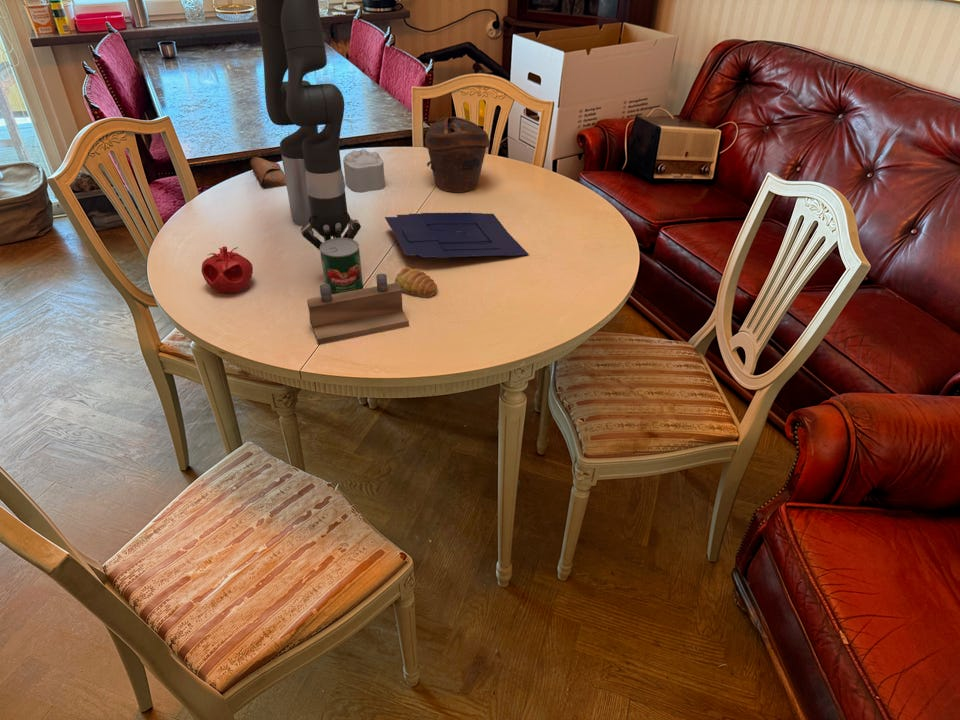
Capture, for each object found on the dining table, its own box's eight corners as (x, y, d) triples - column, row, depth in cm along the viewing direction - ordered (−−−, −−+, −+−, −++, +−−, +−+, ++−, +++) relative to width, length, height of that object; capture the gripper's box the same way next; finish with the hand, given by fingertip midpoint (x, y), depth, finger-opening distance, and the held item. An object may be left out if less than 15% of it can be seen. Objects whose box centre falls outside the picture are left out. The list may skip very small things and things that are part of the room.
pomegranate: (216, 273, 137) (207, 234, 131) (262, 275, 137) (254, 236, 131) (199, 297, 129) (188, 257, 124) (247, 299, 129) (238, 259, 123)
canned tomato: (350, 279, 137) (345, 233, 130) (371, 293, 132) (367, 247, 126) (318, 291, 132) (312, 245, 126) (339, 306, 128) (333, 259, 121)
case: (447, 166, 191) (447, 106, 180) (501, 183, 183) (504, 121, 172) (409, 184, 180) (407, 120, 169) (464, 202, 171) (466, 137, 160)
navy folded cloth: (381, 224, 156) (382, 210, 154) (491, 222, 167) (493, 209, 165) (406, 270, 138) (408, 255, 136) (527, 265, 149) (530, 251, 147)
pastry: (444, 290, 135) (444, 274, 133) (425, 303, 131) (424, 288, 128) (410, 276, 139) (410, 261, 137) (391, 289, 135) (390, 274, 132)
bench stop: (310, 322, 123) (303, 282, 118) (397, 305, 129) (395, 267, 124) (318, 344, 118) (311, 304, 112) (409, 325, 123) (407, 286, 118)
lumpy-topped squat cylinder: (353, 194, 173) (350, 163, 168) (340, 177, 182) (337, 147, 177) (388, 188, 177) (386, 158, 172) (374, 172, 186) (372, 143, 181)
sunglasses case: (293, 184, 176) (277, 166, 172) (273, 200, 176) (257, 182, 172) (278, 163, 189) (264, 146, 184) (260, 177, 189) (245, 160, 184)
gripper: (353, 178, 131) (360, 252, 141) (289, 186, 126) (302, 262, 137) (362, 192, 125) (369, 267, 136) (296, 201, 121) (308, 278, 132)
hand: (335, 264), depth 136 cm, fingers closed
